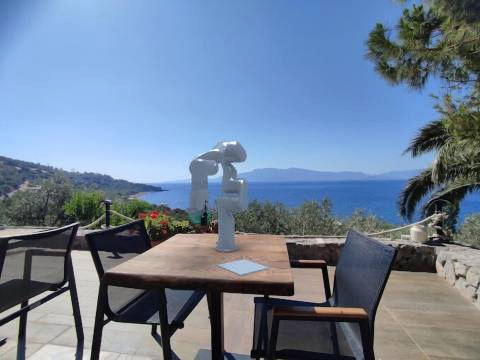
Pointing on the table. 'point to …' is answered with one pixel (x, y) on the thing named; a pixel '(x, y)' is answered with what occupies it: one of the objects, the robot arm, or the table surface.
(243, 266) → the mat
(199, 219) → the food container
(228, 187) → the robot arm
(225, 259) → the table surface
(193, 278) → the table surface
